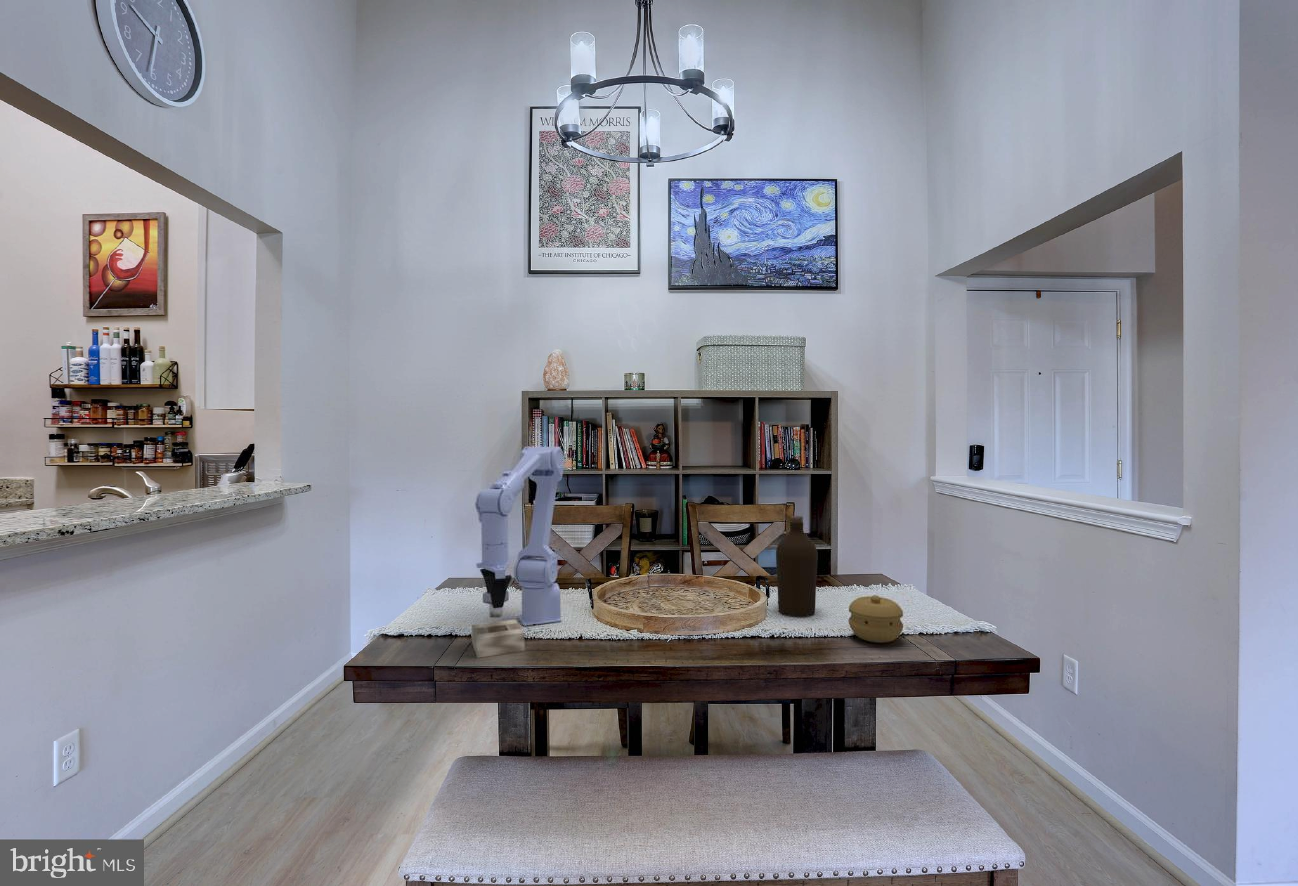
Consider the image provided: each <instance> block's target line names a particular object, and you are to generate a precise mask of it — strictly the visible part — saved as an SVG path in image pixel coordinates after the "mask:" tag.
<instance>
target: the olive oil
mask: <svg viewBox="0 0 1298 886" xmlns="http://www.w3.org/2000/svg"><path fill="white" fill-rule="evenodd" d="M803 519H804V517H803V516H801V515H791V516H790V522H789V531H788V532H787V534H786V535H785V536H784V537H783V538H782V539H780V541H779V542H778V543H777V547H776V550H775V560H776V561H775V562H776V580H777V583H776V584H777V606H778V607H777V609H778V610H777V611H778V612H779V613H780V614H782V615H784V616H787V617H795V618H807V617H812V616H813V615H815V613H816V602H817V601H816V597H817V595H816V594H817V575H818V560H819V554H818V549H817V546H816V544H815V542H813V540H812V539H810V537H809V536H808V535H807V534H806V532H804V522H803V521H804V520H803Z"/></svg>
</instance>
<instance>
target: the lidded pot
mask: <svg viewBox="0 0 1298 886" xmlns="http://www.w3.org/2000/svg"><path fill="white" fill-rule="evenodd" d="M848 612H849V613H850V616H849V618H848V619H847V620H848V625H849V627H850V629H851V631H852V632H853V633H854V634H855V636H856V637H858V638H859V639H862V640H864V641H867V642H871V643H879V644H884V643H890V642H893V641H894V640H896V639H897V638H898V637H899V636H900V635H901V634H902V632H903V628H904V623H903V622H902V620H901V619H902V618H903V616H904V611H903V609H902V607H901V606H900V605H899V604H898V603H897V602H896V601H895V600H892V599H889V598H887V597H880V595H876V594H874V595H872V596H871V595H870V596H867V595H866V596H860V597H858V598H856V599H854V600H853V601H852V602H851V603H850V604H849V606H848Z"/></svg>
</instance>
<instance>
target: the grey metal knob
mask: <svg viewBox="0 0 1298 886" xmlns="http://www.w3.org/2000/svg"><path fill="white" fill-rule="evenodd" d="M509 594H510V593H509V591H508V590H507V591H506V596H505V601H504V603H506V602H508V601H509V596H510V595H509ZM482 602H483V603H484V604H488V605H489V607H488V608H489V610H488V611H489V618H491V619H492V618H493V619H496V618H497V619H498V618H501V617H503V607H501V608H493V605H492V601H491V595H490V591H488V592H487V591H486V592H483V593H482Z"/></svg>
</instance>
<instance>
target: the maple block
mask: <svg viewBox="0 0 1298 886" xmlns="http://www.w3.org/2000/svg"><path fill="white" fill-rule="evenodd" d="M471 644H472V646H473V650H474V652H475V655H476V658H484V657H492V656H499V655H505V654H511V653H517V652H518V653H519V652H525V646H526V645H525V631H524V630H523V628H522V626H521V625H520V624H519V622H518V620H517V619H516V618H515V619H509V620H508V619H507V620H500V621H499V620H498V621H493V622H486V623H476V624H471Z"/></svg>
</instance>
